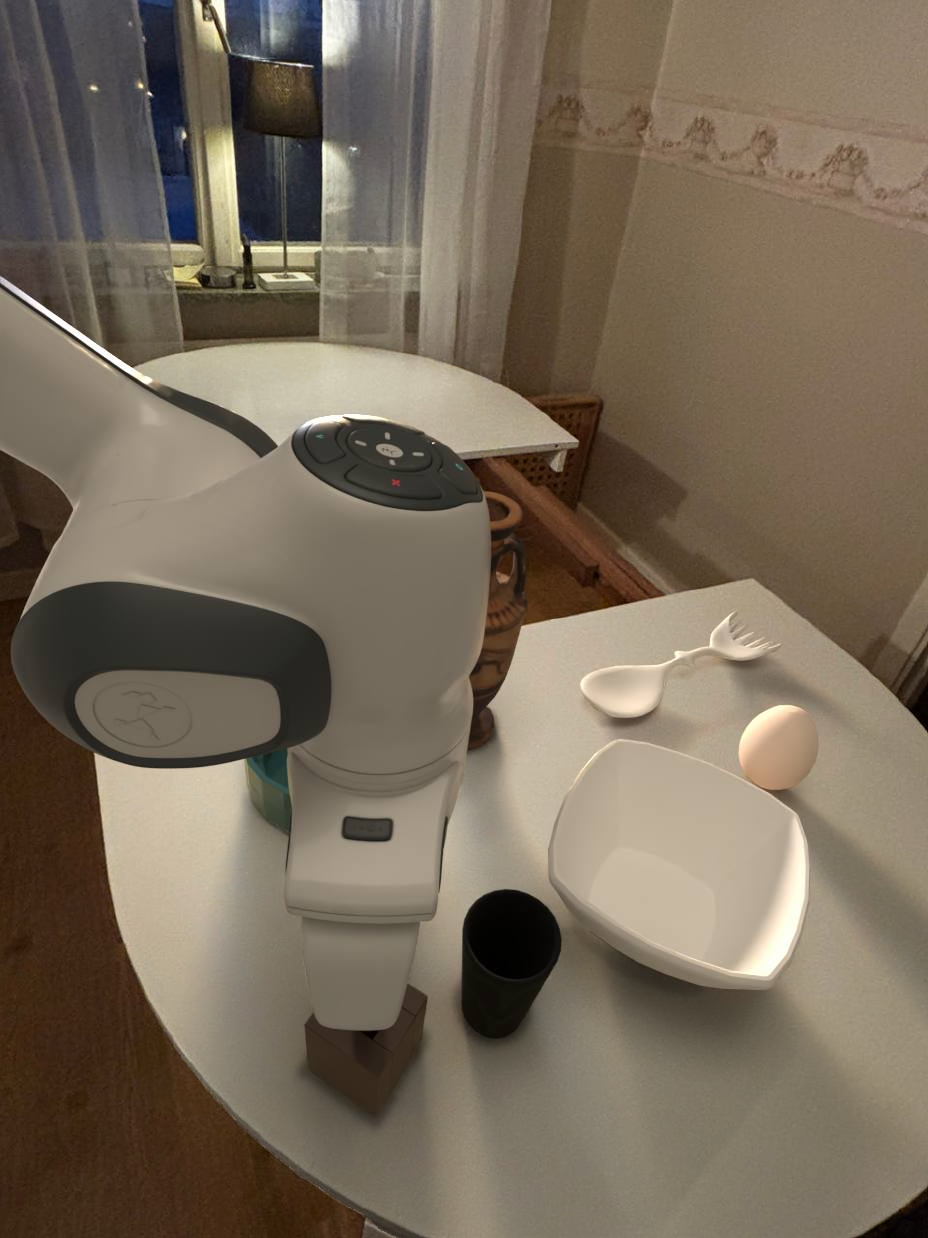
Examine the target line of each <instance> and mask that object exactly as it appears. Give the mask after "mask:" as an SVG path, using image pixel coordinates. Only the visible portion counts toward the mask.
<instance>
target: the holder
mask: <svg viewBox="0 0 928 1238" xmlns="http://www.w3.org/2000/svg"><path fill="white" fill-rule="evenodd" d="M428 1000H429V996H428V995H427V994H426V993H424V992H422V990H420V989H418V988H416V987H415V986H413V985H412V984H410V983H409V982H408V984H407V988H406V992H405V996H404V999H403V1003H402V1007H401V1010H400V1014H399V1016H398V1019H397V1020H396V1022H395V1023H394V1025H393V1026H391V1027H389V1028H387V1029H383V1030H379V1031H378V1032H377V1034H376V1035H375V1037H374V1039H373V1040H372V1039H370V1038H369V1037H367V1036H366V1035H365V1034H363V1033H362V1032H360V1031H355V1030H341V1029H333V1028H328V1027H325V1026H323V1025H321V1024H320V1023H319V1022H318V1021H317V1020H316V1018H315V1015H314V1013H313V1012H312V1013H311V1015H310V1016H309V1017H308V1018H307V1020H306V1021H305V1023H304V1040H305V1051H306V1064H307V1066H306V1067H307V1070H308V1071H310V1072H312V1073H313V1074H315V1076H317V1077H318V1078H320V1079H321V1080H323V1081H324V1082H325V1083H327V1084H328V1085H329V1086H330V1087H332V1088H334V1089H335V1090H336V1091H337V1092H339V1093H340V1094H342V1095H343V1096H344V1097H345V1098H347V1099H349V1100H350V1101H351V1102H352V1103H354V1104H355V1105H357V1106H358V1107H359V1108H360V1109H362V1110H363V1111H365V1112H366V1113H368V1115H370V1116H372V1117H373V1118H374V1119H377V1117H378V1115H379V1114H380V1112H381V1110H382V1109H383V1107H384V1105H386V1102H387V1101H388V1099H389V1097H390V1095H391V1094H392V1092H393V1090H394V1088H395V1087H396V1085H397V1083H398V1082H399V1080H400V1078H401V1076H402V1074H404V1071H405V1070H406V1068H407V1066H408V1065H409V1063H410V1061H411V1059H412V1058H413V1057H414V1055H415V1052H416V1051H417V1049H418V1048H419V1046H420V1044H421V1043H422V1039H423V1033H424V1026H425V1020H426V1014H427V1013H426V1012H427V1008H428V1007H427V1005H428Z"/></svg>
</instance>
